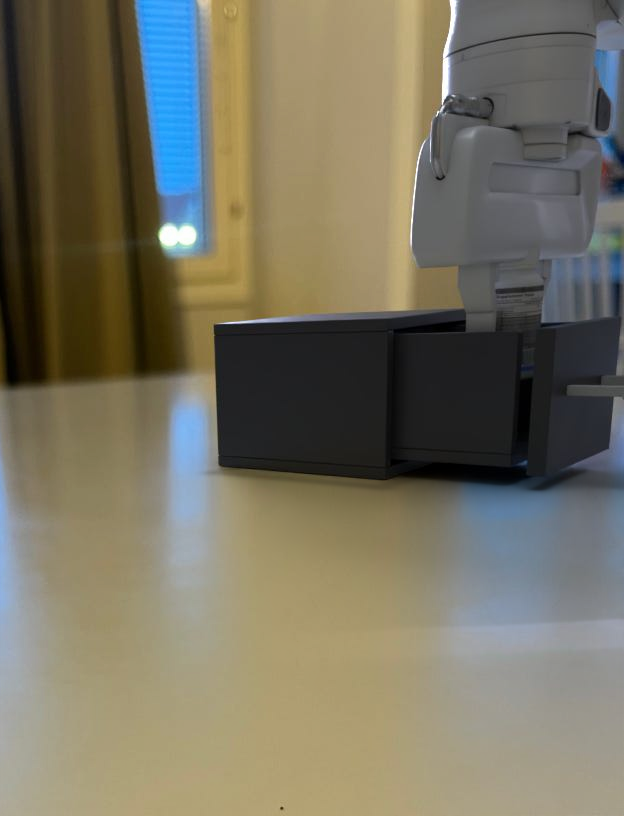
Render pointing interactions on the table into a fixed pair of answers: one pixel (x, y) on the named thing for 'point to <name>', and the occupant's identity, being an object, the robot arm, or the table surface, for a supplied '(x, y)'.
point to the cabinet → (313, 391)
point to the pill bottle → (522, 303)
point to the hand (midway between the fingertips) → (503, 336)
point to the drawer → (505, 395)
